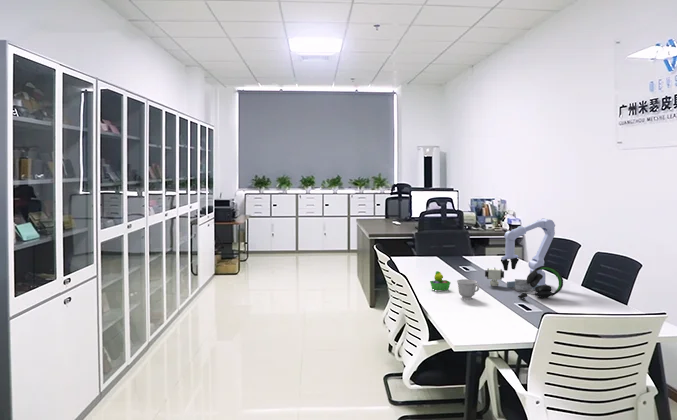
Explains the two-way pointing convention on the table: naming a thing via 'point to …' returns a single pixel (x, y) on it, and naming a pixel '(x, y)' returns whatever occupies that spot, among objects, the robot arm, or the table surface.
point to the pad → (521, 291)
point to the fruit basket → (439, 282)
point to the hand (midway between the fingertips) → (509, 269)
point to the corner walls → (512, 284)
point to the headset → (545, 289)
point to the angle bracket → (522, 285)
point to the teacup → (467, 288)
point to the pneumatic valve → (494, 275)
